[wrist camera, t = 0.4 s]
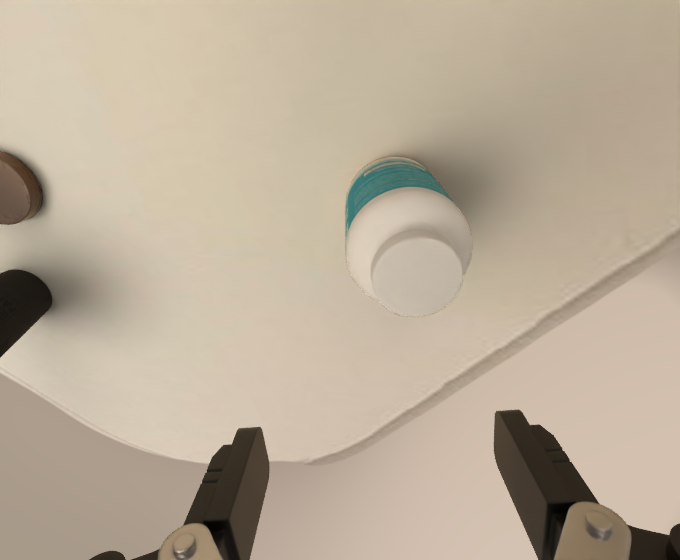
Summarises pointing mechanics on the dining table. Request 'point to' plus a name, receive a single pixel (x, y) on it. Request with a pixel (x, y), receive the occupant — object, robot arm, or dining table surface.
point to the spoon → (17, 190)
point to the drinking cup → (20, 305)
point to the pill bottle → (405, 238)
